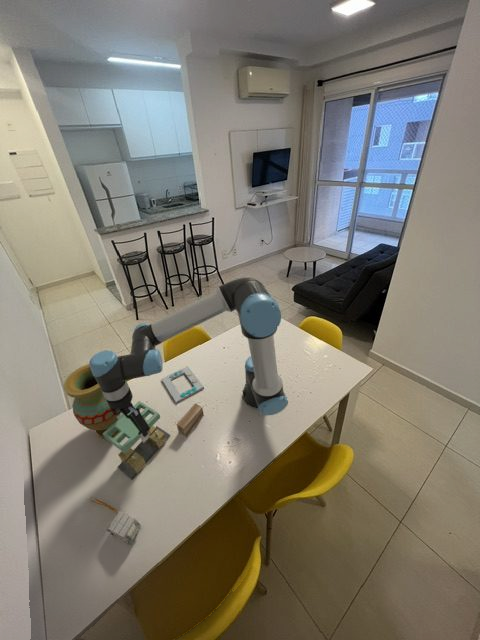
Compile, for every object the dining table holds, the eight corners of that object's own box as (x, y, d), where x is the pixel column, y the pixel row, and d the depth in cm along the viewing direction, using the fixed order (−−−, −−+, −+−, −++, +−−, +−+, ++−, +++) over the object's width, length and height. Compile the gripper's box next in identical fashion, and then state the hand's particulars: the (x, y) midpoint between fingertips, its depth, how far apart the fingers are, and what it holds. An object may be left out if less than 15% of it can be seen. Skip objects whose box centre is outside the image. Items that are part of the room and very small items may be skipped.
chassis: (171, 436, 108) (167, 425, 104) (132, 480, 94) (126, 470, 90) (156, 426, 112) (152, 415, 108) (117, 467, 99) (110, 456, 94)
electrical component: (82, 518, 88) (74, 512, 86) (95, 500, 93) (88, 493, 90) (132, 547, 78) (124, 540, 75) (145, 524, 82) (138, 517, 80)
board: (160, 417, 97) (159, 413, 95) (124, 453, 86) (122, 449, 84) (140, 405, 102) (139, 400, 100) (104, 437, 91) (102, 433, 89)
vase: (145, 411, 119) (126, 364, 102) (116, 452, 104) (87, 405, 86) (111, 401, 125) (88, 355, 107) (78, 438, 109) (45, 391, 92)
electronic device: (161, 378, 133) (187, 365, 140) (162, 381, 135) (188, 368, 142) (175, 401, 121) (203, 386, 128) (176, 404, 122) (204, 389, 129)
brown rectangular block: (203, 415, 116) (202, 407, 112) (185, 437, 108) (183, 428, 104) (197, 411, 118) (195, 403, 114) (178, 432, 110) (176, 424, 106)
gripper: (151, 399, 80) (165, 438, 93) (105, 371, 91) (123, 410, 103) (131, 417, 75) (149, 456, 87) (85, 386, 86) (107, 424, 98)
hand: (135, 431), depth 95 cm, fingers closed on board, 11 cm apart
